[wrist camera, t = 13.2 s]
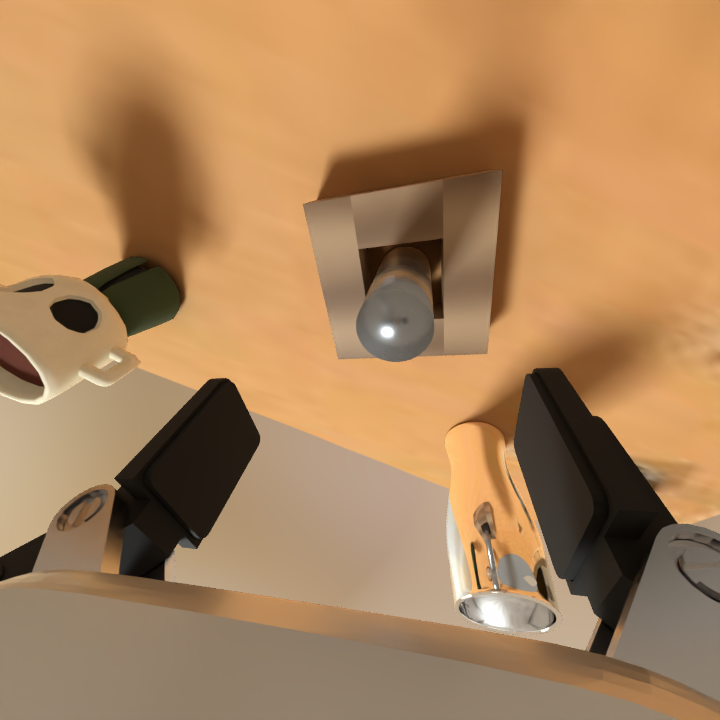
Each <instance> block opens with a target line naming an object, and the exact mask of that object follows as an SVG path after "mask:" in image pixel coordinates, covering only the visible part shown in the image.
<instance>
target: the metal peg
mask: <svg viewBox="0 0 720 720" xmlns="http://www.w3.org/2000/svg"><path fill="white" fill-rule="evenodd" d="M356 332H357V336H358V338H359V340H360V342H361V344H362V345H363V347H364V348H365V349H366V350H367V351H368V352H369V353H371V354H372V355H374V356H375V357H377V358H380V359H382V360H386V361H392V362H400V361H406V360H410V359H412V358H415V357H417V356H418V355H420V354H421V353H422V352H424V350H425V349H426V348H427V347H428V346H429V344H430V342H431V341H432V338H433V335H434V314H433V299H432V285H431V271H430V264H429V261H428V259H427V257H426V256H425V255H424V254H423V253H422V252H421V251H420V250H418V249H416V248H414V247H410V246H402V247H398V248H395V249H393V250H391V251H390V252H389V253H388V254H387V255H386V256H385V257H384V259H383V260H382V262H381V265H380V267H379V269H378V271H377V273H376V276H375V278H374V280H373V282H372V284H371V287H370V289H369V291H368V293H367V295H366V298H365V300H364V302H363V304H362V306H361V309H360V311H359V313H358V316H357V320H356Z"/></svg>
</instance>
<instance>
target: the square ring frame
mask: <svg viewBox="0 0 720 720" xmlns="http://www.w3.org/2000/svg"><path fill="white" fill-rule="evenodd" d="M502 172H503V170H488V171H482V172H477V173H471V174H465V175H459V176H453V177H448V178H442V179H436V180H430V181H425V182H419V183H413V184H407V185H401V186H396V187H390V188H384V189H378V190H373V191H367V192H361V193H355V194H349V195H344V196H338V197H332V198H326V199H321V200H316V201H312V202H309V203H306V204H303V207H304V211H305V216H306V220H307V224H308V229H309V233H310V238H311V242H312V246H313V251H314V255H315V259H316V264H317V268H318V272H319V277H320V281H321V286H322V290H323V294H324V299H325V303H326V307H327V312H328V316H329V321H330V325H331V329H332V334H333V338H334V342H335V347H336V351H337V356H338V359H360V358H377V357H375V356H374V355H372V354H371V353H369V352H368V351H367V350H366V349H365V348H364V347H363V345H362V344H361V342H360V340H359V338H358V336H357V332H356V320H357V316H358V313H359V311H360V309H361V306H362V304H363V302H364V300H365V298H366V295H367V293H368V291H369V289H370V287H371V277H370V270H369V263H368V256H367V248H371V247H379V246H387V245H395V244H403V243H411V242H419V241H426V240H434V239H441V281H442V303H437V304H433V314H434V335H433V338H432V341H431V342H430V344H429V346H428V347H427V348H426V349H425V350H424V352H422V353H421V354H420V355H418V356H442V355H469V354H487V351H488V339H489V327H490V315H491V303H492V291H493V279H494V267H495V255H496V244H497V232H498V220H499V208H500V196H501V184H502Z"/></svg>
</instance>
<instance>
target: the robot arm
mask: <svg viewBox="0 0 720 720" xmlns="http://www.w3.org/2000/svg"><path fill="white" fill-rule="evenodd" d="M259 443H260V435H259V432H258V430H257V428H256V426H255V425H254V422H253V420H252V418H251V416H250V414H249V412H248V410H247V408H246V406H245V404H244V402H243V400H242V398H241V396H240V394H239V392H238V390H237V388H236V386H235V384H234V383H232V382H231V381H230V380H229V379H227V378H218V379H210V380H208V381H207V382H206V383H205V384H204V385H203V386H202V387H201V388H200V390H199V391H198V392H197V393H196V394H195V395H194V396H193V397H192V398H191V399H190V400H189V401H188V402H187V403H186V404H185V405H184V406H183V407H182V408H181V409H180V410H179V411H178V412H177V414H176V415H175V416H174V417H173V418H172V419H171V420H170V421H169V422H168V423H167V424H166V425H165V426H164V427H163V428H162V429H161V430H160V431H159V432H158V433H157V434H156V435H155V436H154V437H153V438H152V440H151V441H150V442H149V443H148V444H147V445H146V446H145V447H144V448H143V449H142V450H141V451H140V452H139V453H138V454H137V455H136V456H135V457H134V458H133V459H132V461H130V462H129V463H128V465H127V466H126V467H125V468H124V469H123V470H122V471H121V472H120V473H119V474H118V475H117V476H116V477H115V478H114V479H115V480H116V481H117V482H118V483H119V484H120V485H121V487H120V488H119V489H118V490H116V489H115V488H114V487H113V486H112V485H108V484H104V485H98V486H95V487H92V488H90V489H88V490H86V491H84V492H82V493H80V494H79V495H77V496H76V497H74V498H73V499H72V500H70V501H69V502H68V503H67V504H66V505H65V506H64V507H62V508H61V509H60V511H59V512H58V513H57V514H56V515H55V517H54V518H53V520H52V522H51V523H50V525H49V528H48V531H47V533H45V534H43V535H41V536H39V537H38V538H35V539H34V540H32V541H30V542H28V543H26V544H24V545H23V546H20V547H19V548H17V549H15V550H13V551H11V552H9V553H8V554H6V555H4V556H2V557H0V720H720V534H719V533H716V532H714V531H711V530H709V529H706V528H703V527H698V526H694V525H690V524H678V523H677V522H676V521H675V519H674V518H673V516H672V515H671V514H670V512H669V511H668V509H667V508H666V507H665V505H664V504H663V502H662V501H661V500H660V498H659V497H658V495H657V494H656V493H655V491H654V490H653V488H652V487H651V486H650V484H649V483H648V481H647V480H646V479H645V477H644V476H643V474H642V473H641V472H640V470H639V469H638V467H637V466H636V465H635V463H634V462H633V460H632V459H631V458H630V456H629V455H628V453H627V452H626V451H625V449H624V448H623V447H622V445H621V444H620V442H619V441H618V440H617V438H616V437H615V435H614V434H613V433H612V431H611V430H610V428H609V427H608V426H607V424H606V423H605V422H604V421H603V420H602V419H601V418H600V417H598V416H592V415H591V413H590V412H589V410H588V409H587V407H586V406H585V404H584V403H583V401H582V400H581V398H580V397H579V395H578V394H577V393H576V391H575V390H574V388H573V387H572V385H571V384H570V382H569V381H568V379H567V378H566V376H565V375H564V374H563V372H562V371H561V370H560V369H559V368H536V369H534V370H533V373H532V374H527V375H526V377H525V381H524V387H523V392H522V398H521V403H520V409H519V414H518V420H517V426H516V431H515V437H514V448H515V452H516V455H517V458H518V461H519V464H520V467H521V470H522V473H523V476H524V479H525V482H526V485H527V488H528V491H529V494H530V497H531V500H532V503H533V506H534V509H535V512H536V515H537V518H538V521H539V524H540V527H541V530H542V533H543V536H544V539H545V542H546V545H547V548H548V551H549V554H550V557H551V560H552V563H553V566H554V569H555V571H556V574H557V575H558V577H559V578H561V579H566V581H567V584H568V587H569V590H570V593H571V594H572V595H580V596H588V599H589V601H590V604H591V606H592V609H593V612H594V614H596V615H597V616H598V617H599V619H598V621H597V624H596V626H595V629H594V631H593V634H592V636H591V639H590V641H589V643H588V646H587V648H586V650H585V651H583V650H579V649H575V648H571V647H566V646H561V645H558V644H553V643H548V642H542V641H537V640H532V639H526V638H520V637H514V636H509V635H503V634H498V633H492V632H487V631H481V630H475V629H469V628H464V627H458V626H452V625H446V624H440V623H433V622H427V621H421V620H414V619H408V618H402V617H395V616H390V615H383V614H377V613H371V612H364V611H357V610H352V609H346V608H339V607H333V606H326V605H320V604H313V603H307V602H301V601H294V600H287V599H281V598H275V597H268V596H261V595H254V594H249V593H242V592H236V591H229V590H223V589H216V588H209V587H202V586H195V585H189V584H182V583H176V582H175V564H174V563H175V562H174V561H175V559H174V548H175V547H176V545H177V544H178V543H179V545H180V546H181V547H184V548H192V549H197V548H198V546H199V545H200V543H201V541H202V539H203V538H205V537H206V536H207V535H208V534H209V532H210V531H211V529H212V527H213V525H214V524H215V522H216V520H217V518H218V516H219V515H220V513H221V511H222V509H223V508H224V506H225V504H226V502H227V500H228V499H229V497H230V495H231V493H232V492H233V490H234V488H235V486H236V485H237V483H238V481H239V479H240V477H241V476H242V474H243V472H244V470H245V469H246V467H247V465H248V463H249V461H250V460H251V458H252V456H253V454H254V453H255V451H256V449H257V447H258V446H259Z"/></svg>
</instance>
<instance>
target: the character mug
mask: <svg viewBox="0 0 720 720" xmlns="http://www.w3.org/2000/svg"><path fill="white" fill-rule="evenodd" d="M146 261H149V260H147V259H146V258H140V257H130V258H127V259H125V260H123V261H120V262H118V263H116V264H113V265H111V266H109V267H107V268H105V269H103V270H101V271H99V272H97V273H95V274H94V275H92V276H90V277H88V278H86V279H84V280H81V279H79V278H74V277H68V276H62V275H45V276H39V277H34V278H29V279H26V280H24V281H21V282H19V283H17V284H13V285H10V286H4V285H1V284H0V395H2V396H5V397H7V398H10V399H13V400H15V401H18V402H21V403H27V404H38V405H39V404H41V403H43V402H45V401H48V400H50V399H51V398H53V397H55V396H57V395H59V394H61V393H62V392H64V391H65V390H67V389H69V388H70V387H72V386H73V385H75V384H77V383H78V382H80V381H82V380H83V379H87V380H89V381H91V382H93V383H95V384H97V385H99V386H104V387H106V386H109V385H112V384H113V383H115V382H116V381H118V380H119V379H121V378H122V377H124V376H125V375H127V374H128V373H129V372H131V371H132V370H134V369H135V368H136V367H137V366H138V365H139V364H140V360H139V359H138V358H137V357H136V356H135V355H133V354H131V353H130V352H128V351H126V350H125V349H126V345H127V342H128V337H129V336H131V335H134V334H137V333H139V332H142V331H145V330H147V329H150V328H152V327H155V326H158V325H160V324H162V323H165V322H167V321H169V320H171V319H174V317H175V315H176V314H177V312H178V310H179V303H180V294H179V292H178V290H177V288H176V285H175V283H174V281H173V280H172V279H171V278H170V276H169V275H168V274H167V273H166V272H165V271H164V270H163V269H162V268H161V267H159V266H157V267H154V268H152V269H150V270H147V269H145V268H142V267H139V266H138V265H140V264H142V263H144V262H146ZM114 360H116V361H118V362H119V363H118V364H117V365H115V366H113V367H112V368H110V369H109V370H107V371H102V370H100V369H101V368H103V367H104V366H106V365H107V364H109V363H110V362H112V361H114Z"/></svg>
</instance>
